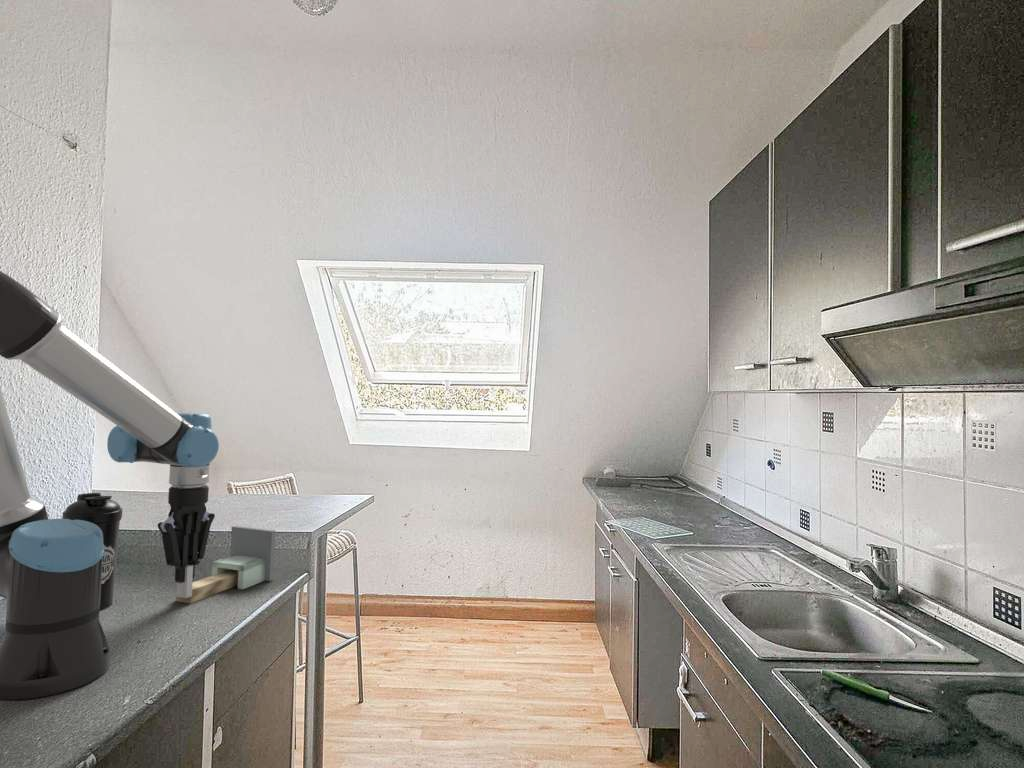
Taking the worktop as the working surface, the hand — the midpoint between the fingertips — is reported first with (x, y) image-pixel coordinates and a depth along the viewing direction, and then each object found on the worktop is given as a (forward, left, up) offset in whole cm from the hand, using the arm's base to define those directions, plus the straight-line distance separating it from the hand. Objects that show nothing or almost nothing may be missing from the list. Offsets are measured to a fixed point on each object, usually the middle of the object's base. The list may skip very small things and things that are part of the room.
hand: (183, 596), depth 125 cm
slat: (+8, +1, -2) cm, 8 cm away
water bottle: (-9, +16, -2) cm, 18 cm away
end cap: (+16, 0, -2) cm, 16 cm away
